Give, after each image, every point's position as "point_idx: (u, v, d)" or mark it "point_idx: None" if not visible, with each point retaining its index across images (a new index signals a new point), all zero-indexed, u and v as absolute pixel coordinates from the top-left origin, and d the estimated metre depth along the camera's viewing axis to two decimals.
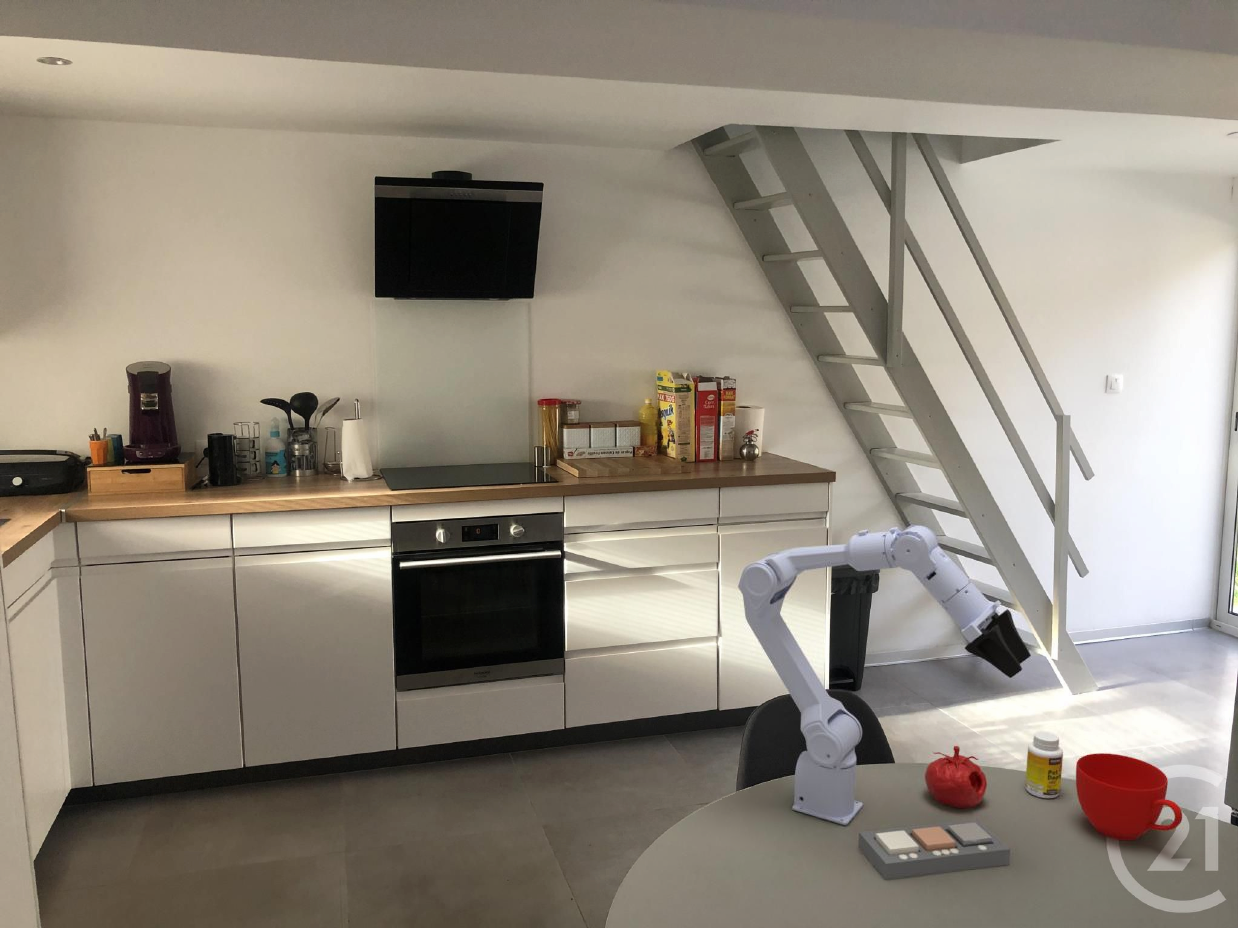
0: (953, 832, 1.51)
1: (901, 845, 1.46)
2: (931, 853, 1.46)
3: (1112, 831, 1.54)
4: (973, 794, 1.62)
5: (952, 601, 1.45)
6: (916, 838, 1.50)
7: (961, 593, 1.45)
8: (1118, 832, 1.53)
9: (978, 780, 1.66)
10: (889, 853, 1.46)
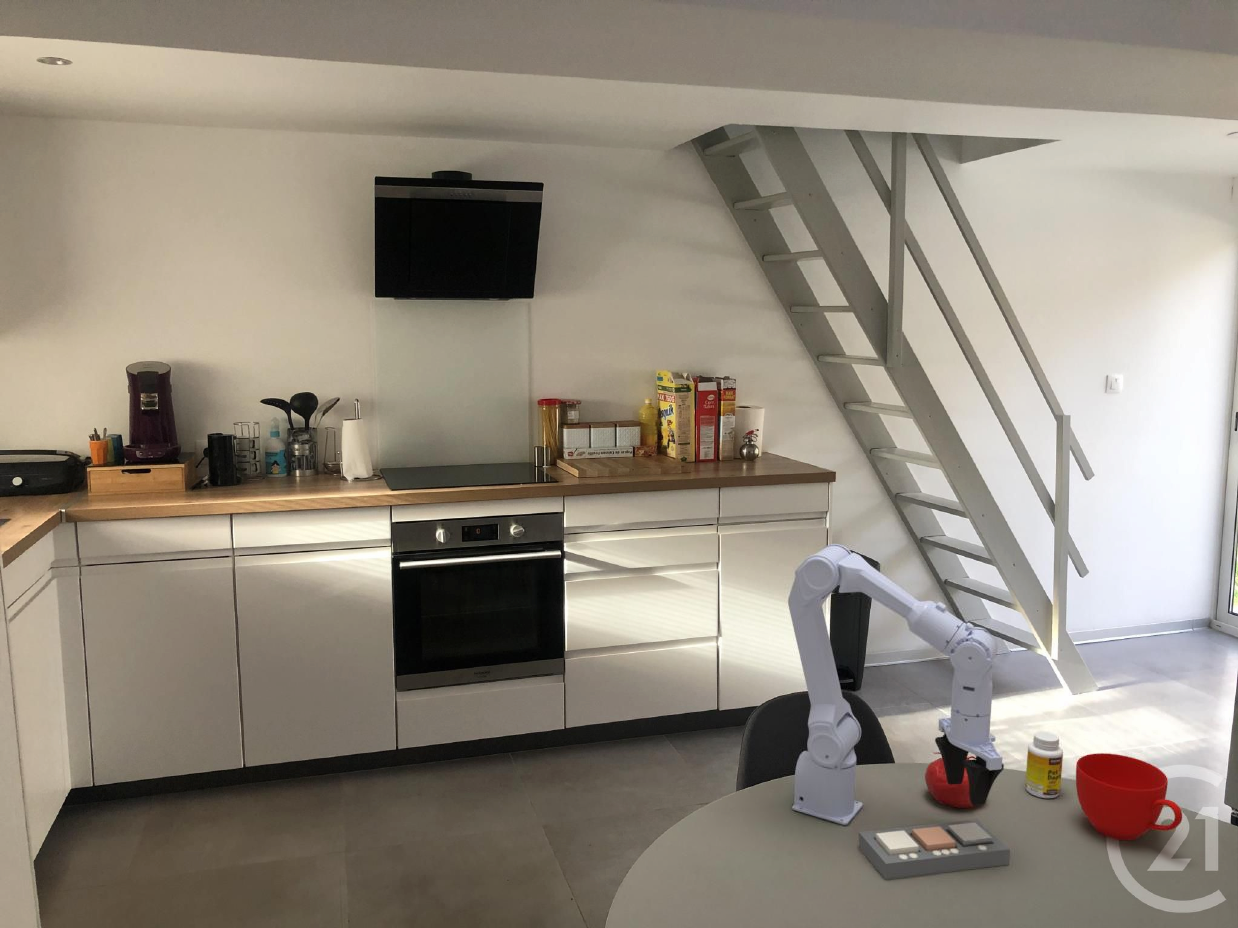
0: (953, 832, 1.51)
1: (901, 845, 1.46)
2: (931, 853, 1.46)
3: (1112, 831, 1.54)
4: None
5: (979, 720, 1.47)
6: (916, 838, 1.50)
7: (988, 717, 1.48)
8: (1118, 832, 1.53)
9: None
10: (889, 853, 1.46)
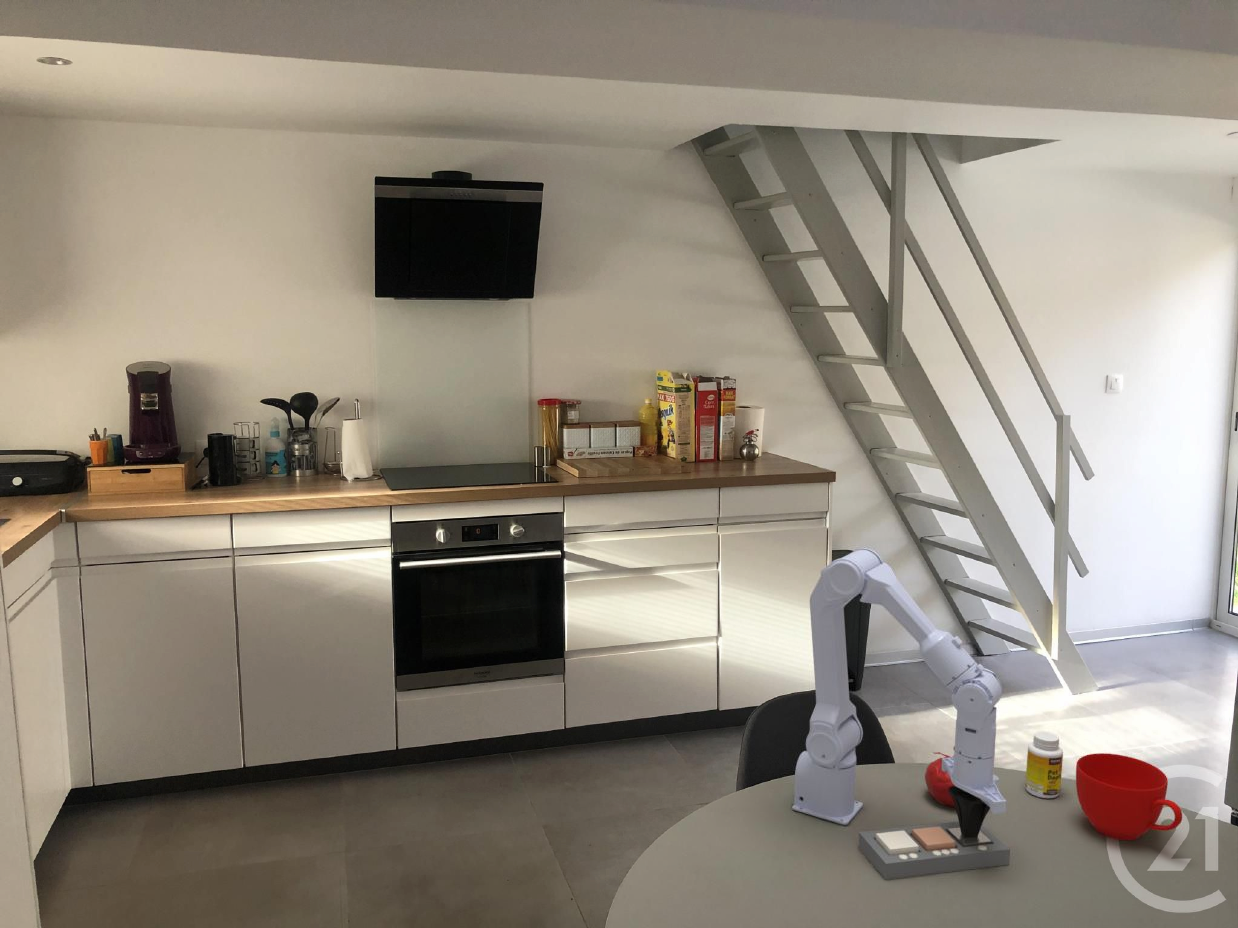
0: (953, 835, 1.51)
1: (901, 845, 1.46)
2: (931, 853, 1.46)
3: (1112, 831, 1.54)
4: None
5: (982, 762, 1.46)
6: (916, 838, 1.50)
7: (991, 759, 1.46)
8: (1118, 832, 1.53)
9: None
10: (889, 853, 1.46)
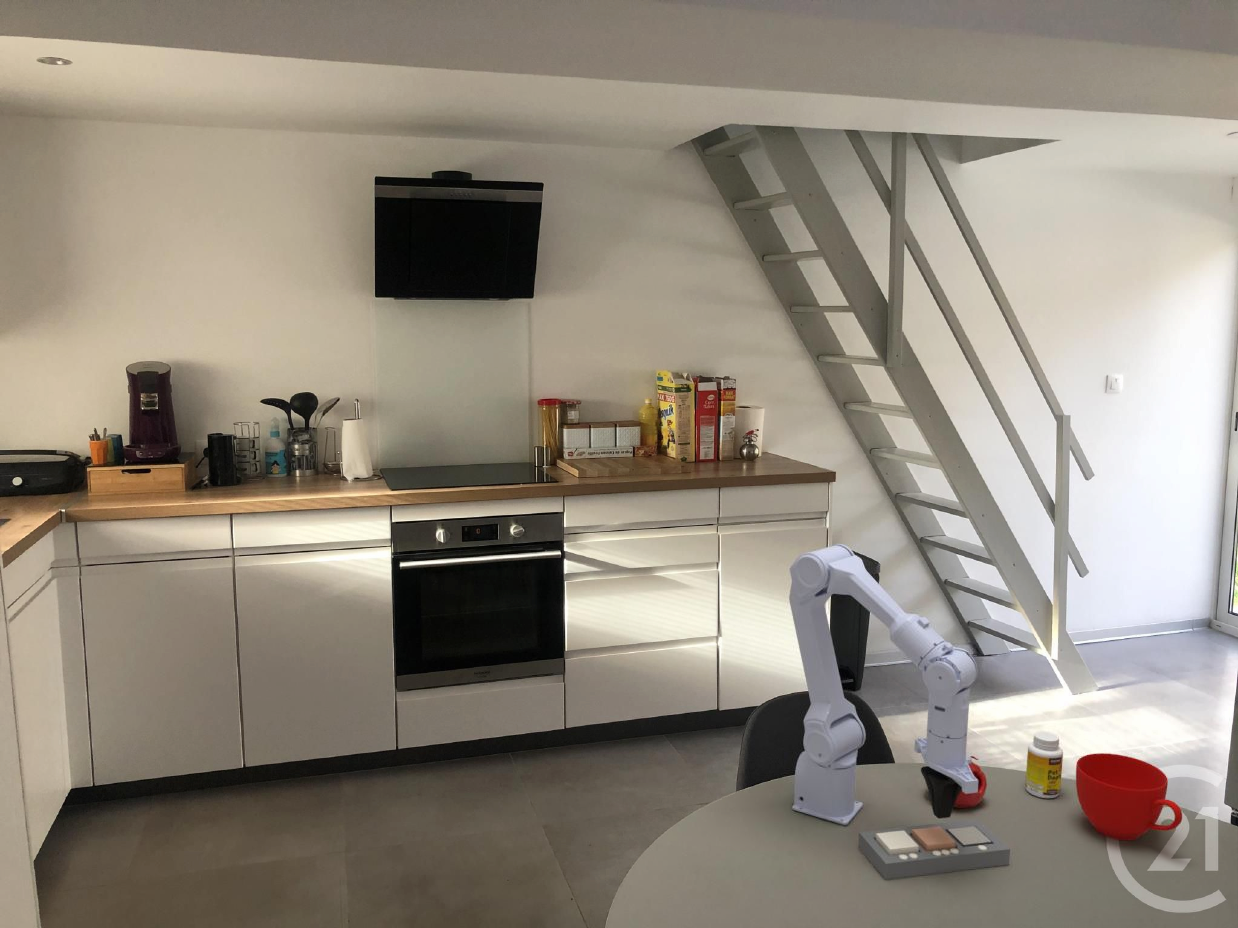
0: (953, 836, 1.51)
1: (901, 845, 1.46)
2: (931, 853, 1.46)
3: (1112, 831, 1.54)
4: (973, 794, 1.62)
5: (955, 741, 1.44)
6: (916, 838, 1.50)
7: (964, 739, 1.45)
8: (1118, 832, 1.53)
9: (978, 780, 1.66)
10: (889, 853, 1.46)
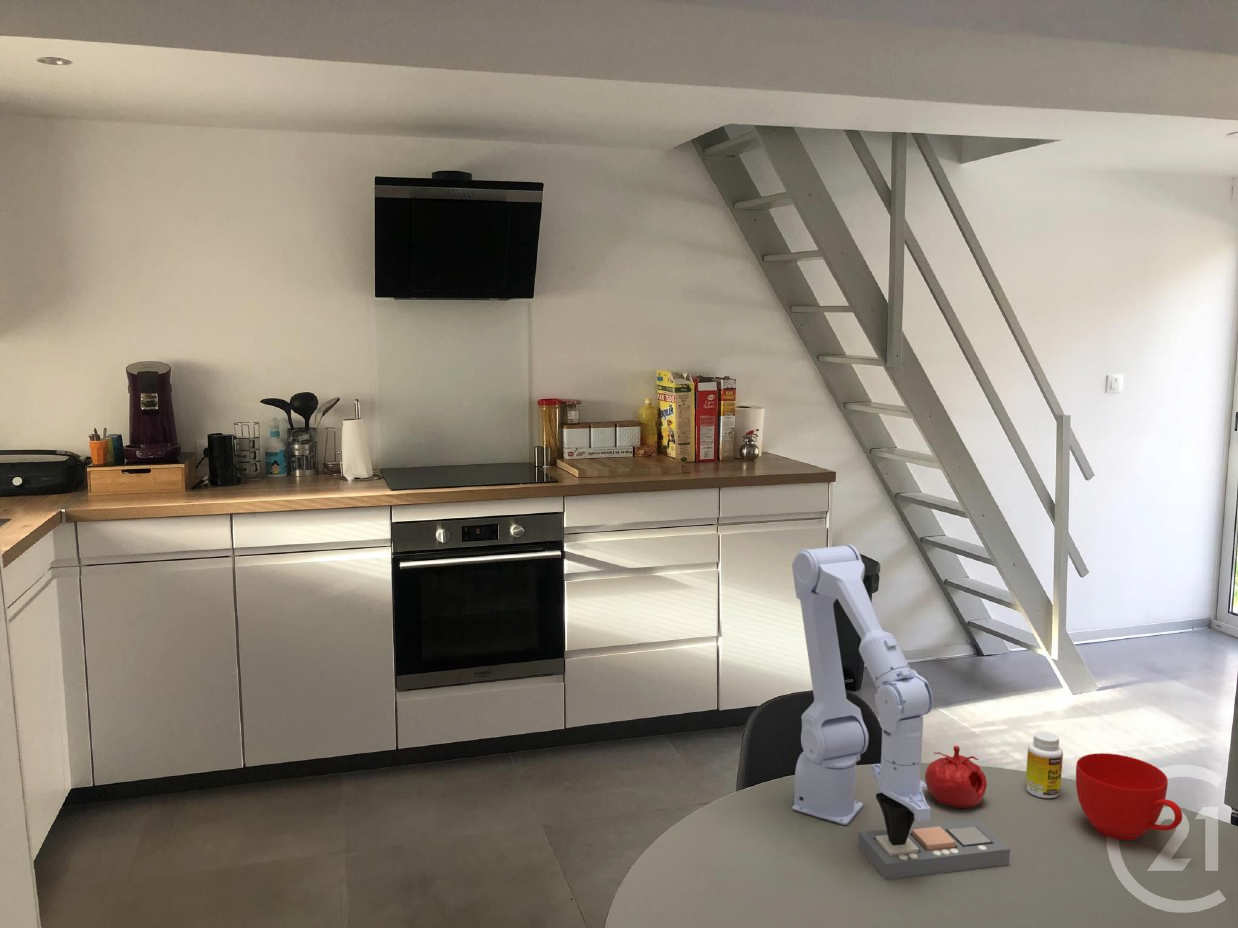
0: (953, 836, 1.51)
1: (901, 847, 1.46)
2: (931, 853, 1.46)
3: (1112, 831, 1.54)
4: (973, 794, 1.62)
5: (908, 768, 1.43)
6: (916, 838, 1.50)
7: (917, 766, 1.44)
8: (1118, 832, 1.53)
9: (978, 780, 1.66)
10: None
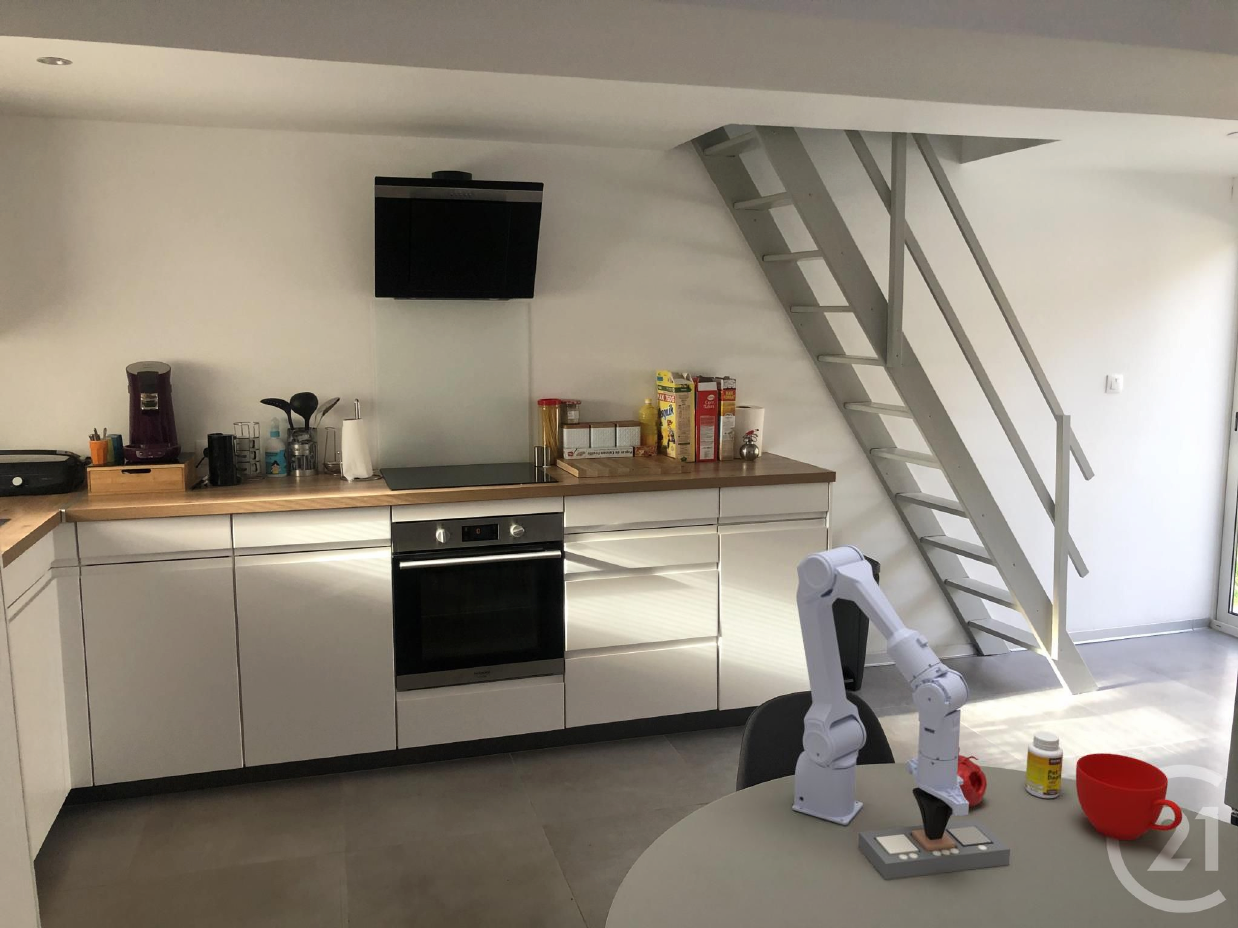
0: (953, 836, 1.51)
1: (901, 849, 1.46)
2: (931, 853, 1.46)
3: (1112, 831, 1.54)
4: (973, 794, 1.62)
5: (945, 763, 1.44)
6: (916, 839, 1.50)
7: (955, 761, 1.45)
8: (1118, 832, 1.53)
9: (978, 780, 1.66)
10: None
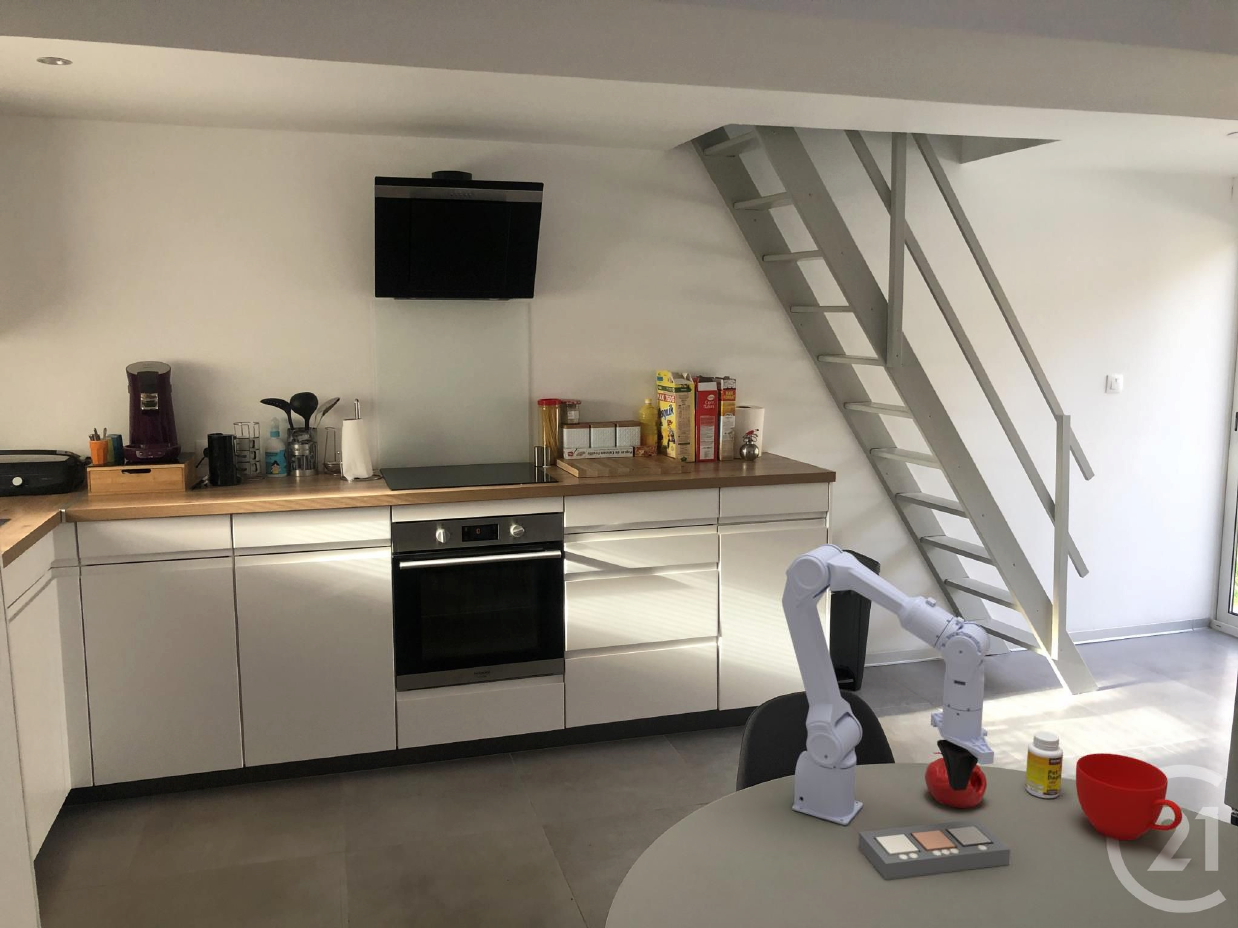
0: (953, 836, 1.51)
1: (901, 849, 1.46)
2: (931, 853, 1.46)
3: (1112, 831, 1.54)
4: (973, 794, 1.62)
5: (970, 714, 1.47)
6: None
7: (980, 711, 1.47)
8: (1118, 832, 1.53)
9: (978, 780, 1.66)
10: None
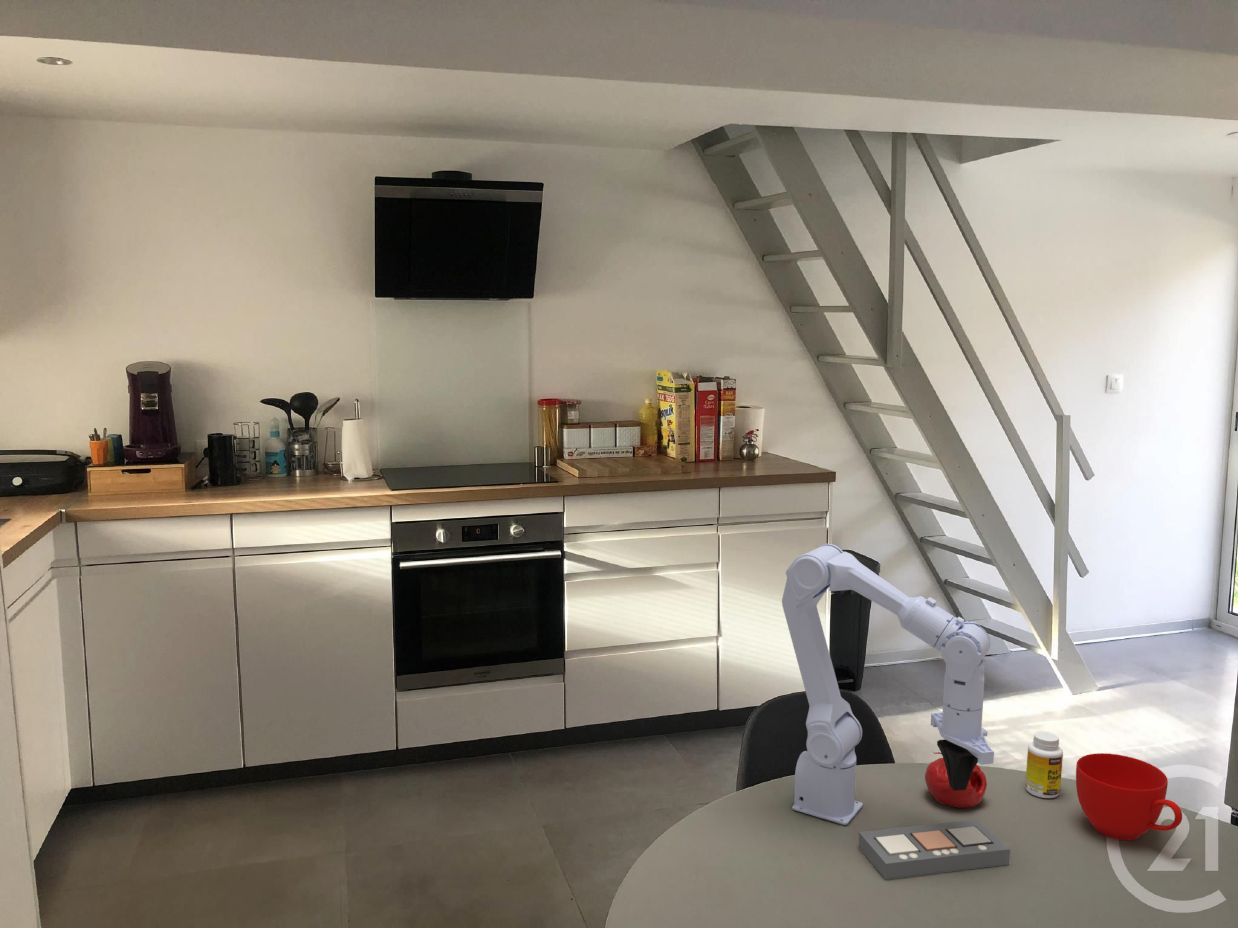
0: (953, 836, 1.51)
1: (901, 849, 1.46)
2: (931, 853, 1.46)
3: (1112, 831, 1.54)
4: (973, 794, 1.62)
5: (970, 714, 1.47)
6: None
7: (980, 711, 1.47)
8: (1118, 832, 1.53)
9: (978, 780, 1.66)
10: None
